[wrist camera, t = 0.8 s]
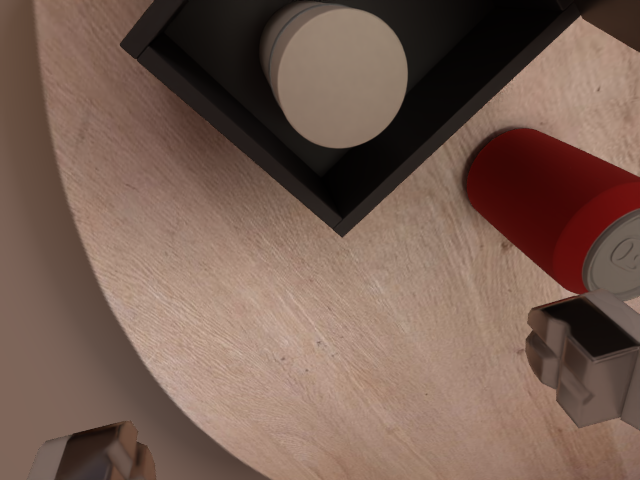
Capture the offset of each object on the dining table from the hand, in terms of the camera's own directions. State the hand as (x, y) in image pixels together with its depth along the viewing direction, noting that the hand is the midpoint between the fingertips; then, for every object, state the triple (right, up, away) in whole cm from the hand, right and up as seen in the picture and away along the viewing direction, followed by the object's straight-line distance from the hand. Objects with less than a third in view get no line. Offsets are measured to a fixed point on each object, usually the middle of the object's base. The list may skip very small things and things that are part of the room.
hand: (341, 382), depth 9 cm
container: (-1, +13, +16) cm, 21 cm away
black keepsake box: (0, +15, +16) cm, 22 cm away
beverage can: (+13, +8, +23) cm, 28 cm away
